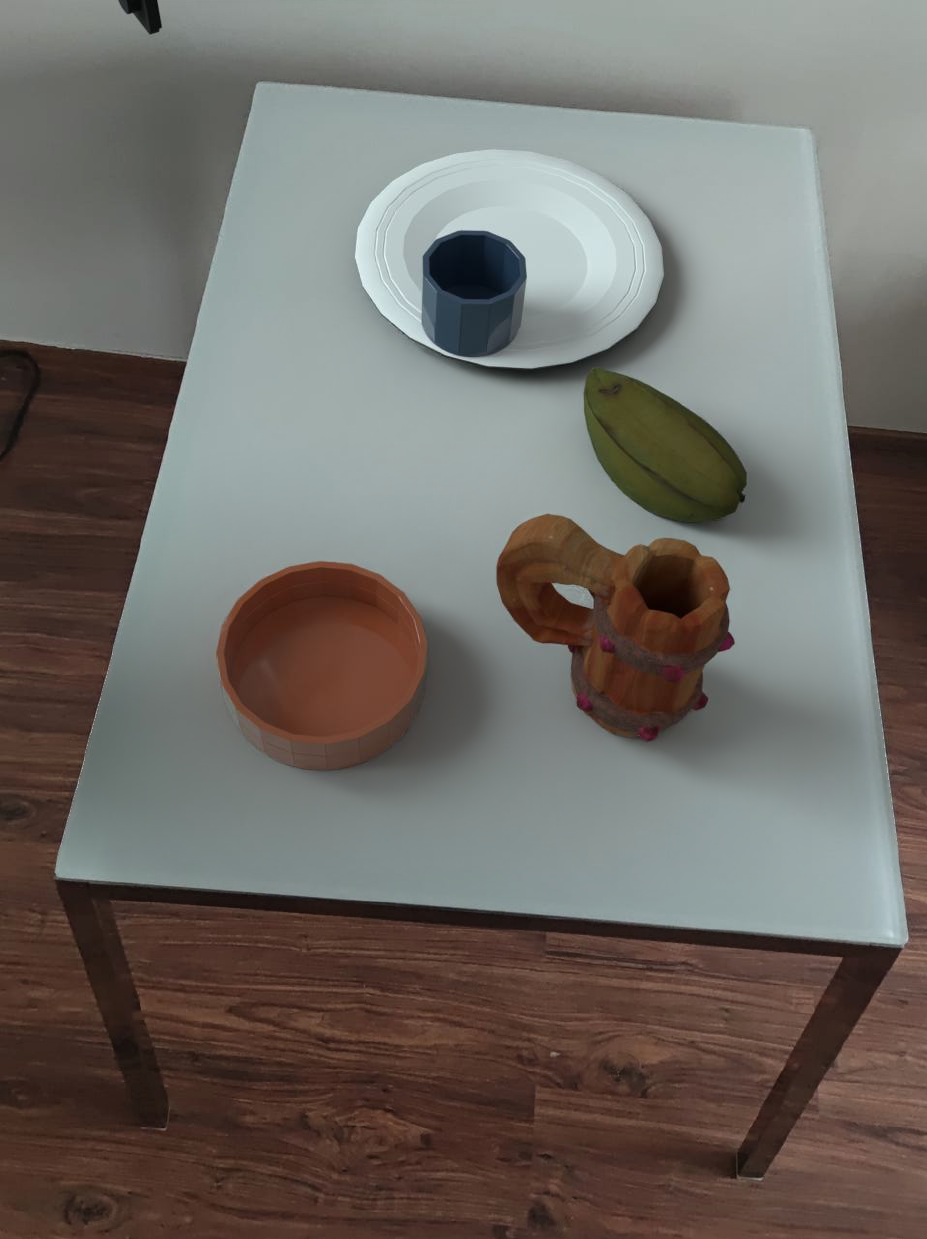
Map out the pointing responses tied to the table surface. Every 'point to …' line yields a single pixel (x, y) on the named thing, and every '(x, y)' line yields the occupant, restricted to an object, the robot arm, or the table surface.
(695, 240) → the table surface
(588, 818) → the table surface
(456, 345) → the small bowl
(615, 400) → the fruit
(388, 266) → the plate
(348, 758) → the big bowl
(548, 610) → the mug
